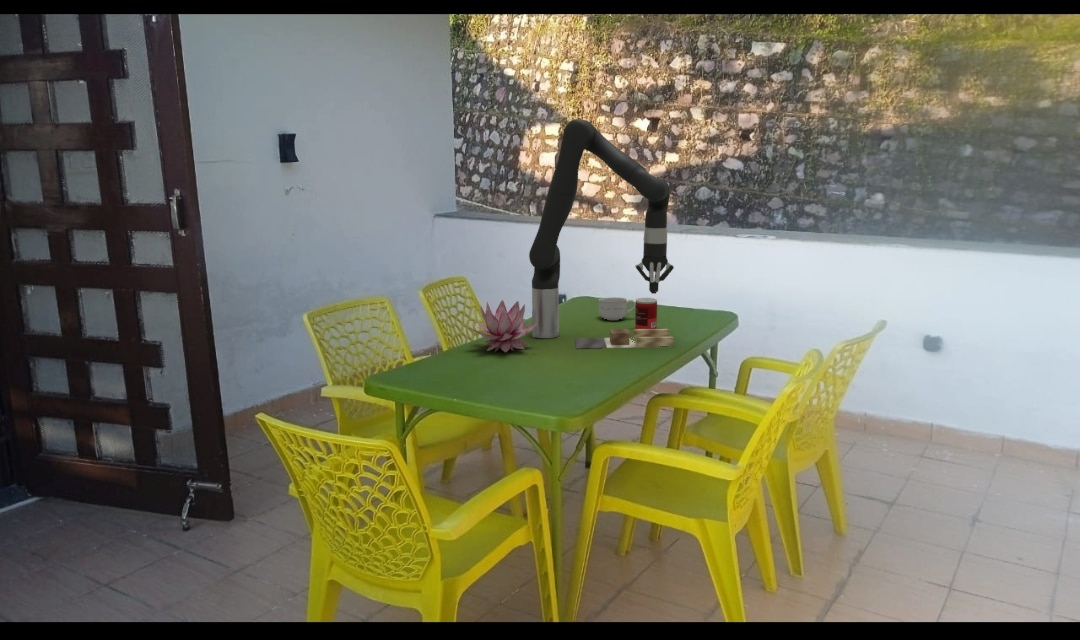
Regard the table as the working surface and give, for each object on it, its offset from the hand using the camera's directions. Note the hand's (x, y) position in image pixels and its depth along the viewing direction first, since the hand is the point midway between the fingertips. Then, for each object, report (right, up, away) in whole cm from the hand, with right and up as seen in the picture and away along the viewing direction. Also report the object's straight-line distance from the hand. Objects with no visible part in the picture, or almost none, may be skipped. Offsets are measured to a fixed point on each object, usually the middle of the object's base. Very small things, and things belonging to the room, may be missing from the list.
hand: (653, 293), depth 268 cm
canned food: (0, -13, +23) cm, 26 cm away
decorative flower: (-50, -19, -1) cm, 53 cm away
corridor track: (-10, -17, +4) cm, 20 cm away
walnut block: (-11, -16, +4) cm, 20 cm away
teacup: (-9, -9, +39) cm, 41 cm away
